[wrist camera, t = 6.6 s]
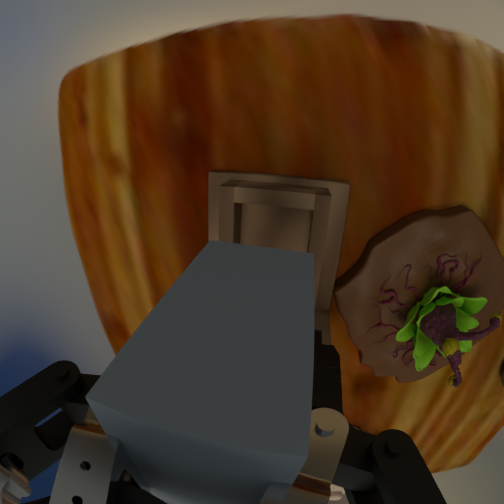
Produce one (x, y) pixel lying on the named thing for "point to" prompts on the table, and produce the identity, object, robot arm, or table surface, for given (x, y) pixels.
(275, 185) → the chair
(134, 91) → the table surface
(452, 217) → the plant
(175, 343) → the block
